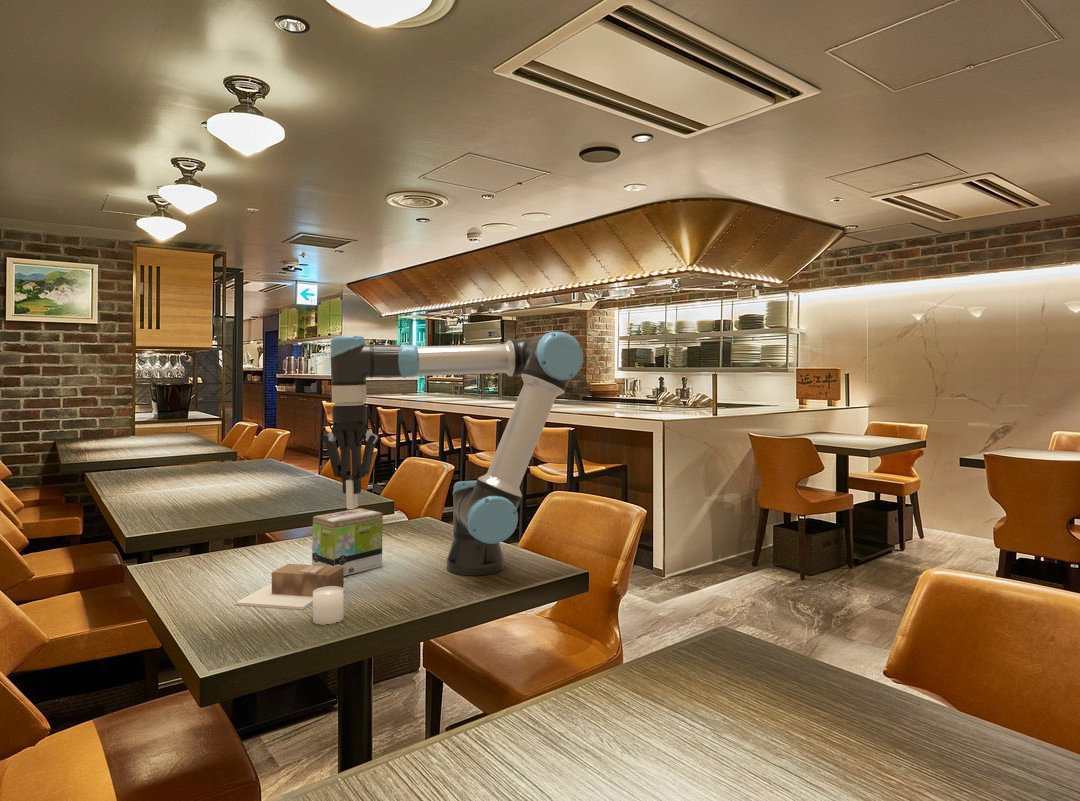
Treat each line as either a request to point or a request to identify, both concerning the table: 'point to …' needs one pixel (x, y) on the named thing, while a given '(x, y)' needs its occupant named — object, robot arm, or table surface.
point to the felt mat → (275, 600)
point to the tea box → (348, 540)
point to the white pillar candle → (328, 605)
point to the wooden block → (305, 579)
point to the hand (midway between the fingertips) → (352, 507)
